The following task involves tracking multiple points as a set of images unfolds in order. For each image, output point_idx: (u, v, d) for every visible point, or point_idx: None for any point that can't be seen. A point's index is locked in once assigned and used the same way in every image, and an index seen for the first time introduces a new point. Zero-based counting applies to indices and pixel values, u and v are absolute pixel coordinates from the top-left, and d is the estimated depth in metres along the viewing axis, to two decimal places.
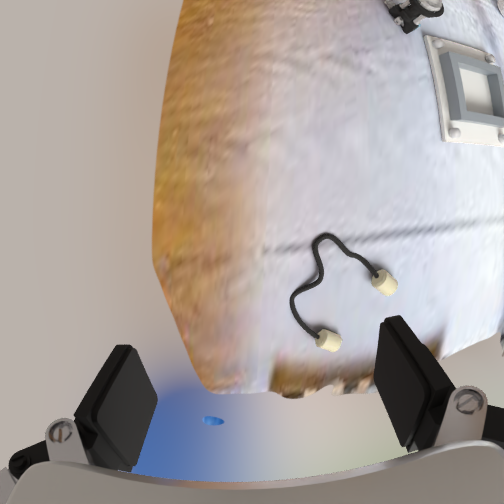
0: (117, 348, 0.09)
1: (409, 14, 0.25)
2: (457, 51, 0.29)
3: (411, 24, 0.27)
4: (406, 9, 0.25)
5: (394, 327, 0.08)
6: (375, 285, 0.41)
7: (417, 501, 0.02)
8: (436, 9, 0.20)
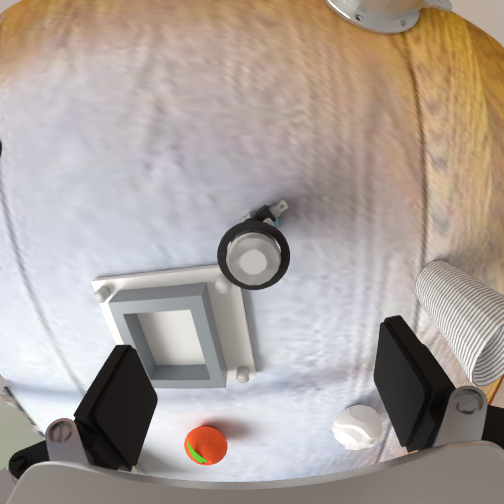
0: (117, 348, 0.09)
1: None
2: (229, 318, 0.32)
3: (235, 236, 0.27)
4: None
5: (394, 327, 0.08)
6: None
7: (417, 501, 0.02)
8: None
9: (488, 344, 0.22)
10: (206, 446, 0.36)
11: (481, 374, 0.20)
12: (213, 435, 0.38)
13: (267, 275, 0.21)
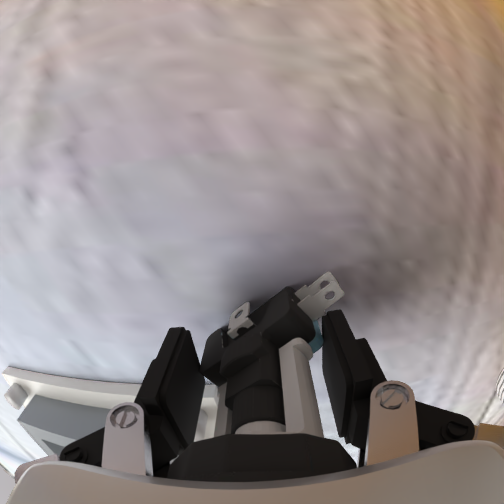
0: (172, 331, 0.10)
1: (238, 380, 0.09)
2: None
3: (216, 371, 0.11)
4: (259, 374, 0.08)
5: (331, 320, 0.10)
6: None
7: (417, 501, 0.02)
8: None
9: None
10: None
11: None
12: None
13: None
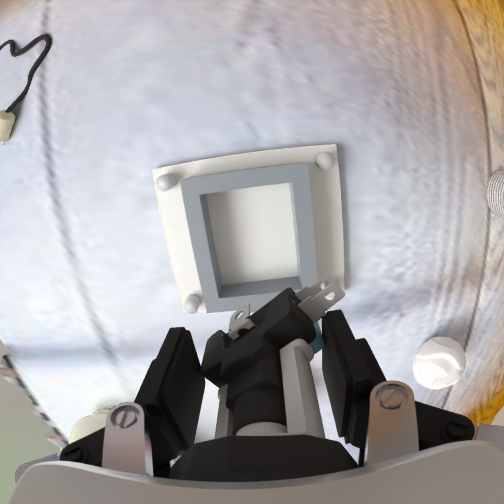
0: (172, 331, 0.10)
1: (239, 381, 0.09)
2: (324, 209, 0.28)
3: (217, 372, 0.11)
4: (260, 375, 0.08)
5: (331, 320, 0.10)
6: None
7: (417, 501, 0.02)
8: None
9: None
10: None
11: None
12: None
13: None
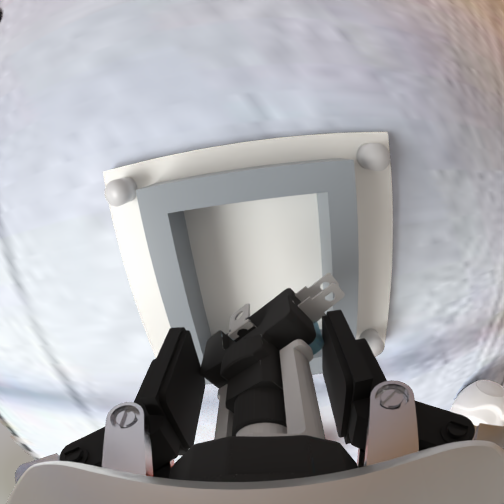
0: (172, 331, 0.10)
1: (239, 381, 0.09)
2: (368, 233, 0.17)
3: (216, 373, 0.11)
4: (260, 376, 0.08)
5: (331, 320, 0.10)
6: None
7: (417, 501, 0.02)
8: None
9: None
10: None
11: None
12: None
13: None
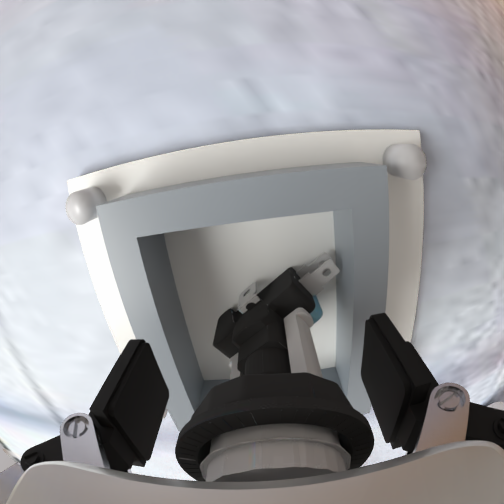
0: (131, 343, 0.10)
1: (249, 345, 0.11)
2: (394, 256, 0.14)
3: (228, 343, 0.12)
4: (267, 337, 0.10)
5: (378, 324, 0.09)
6: None
7: (417, 501, 0.02)
8: None
9: None
10: None
11: None
12: None
13: None
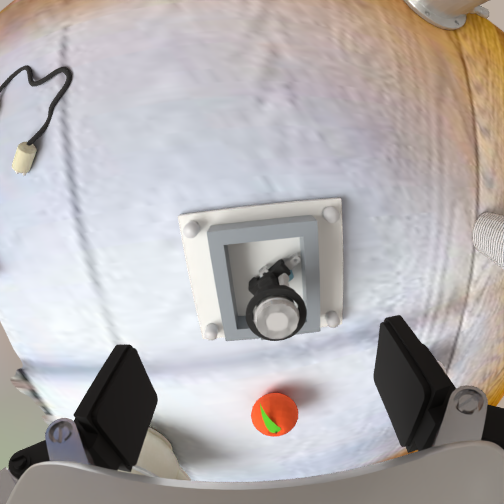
0: (117, 348, 0.09)
1: (265, 286, 0.29)
2: (328, 254, 0.33)
3: (255, 289, 0.31)
4: (272, 282, 0.29)
5: (394, 327, 0.08)
6: (20, 143, 0.27)
7: (417, 501, 0.02)
8: None
9: None
10: (282, 411, 0.35)
11: None
12: (286, 399, 0.37)
13: (288, 331, 0.24)
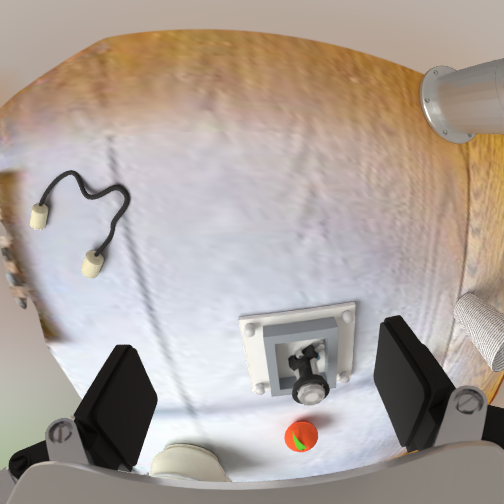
0: (117, 348, 0.09)
1: (301, 367, 0.41)
2: (343, 339, 0.44)
3: (294, 366, 0.43)
4: (306, 366, 0.41)
5: (394, 327, 0.08)
6: (87, 254, 0.39)
7: (417, 501, 0.02)
8: (299, 399, 0.37)
9: None
10: (307, 436, 0.47)
11: (496, 365, 0.31)
12: (310, 426, 0.49)
13: (318, 401, 0.36)
